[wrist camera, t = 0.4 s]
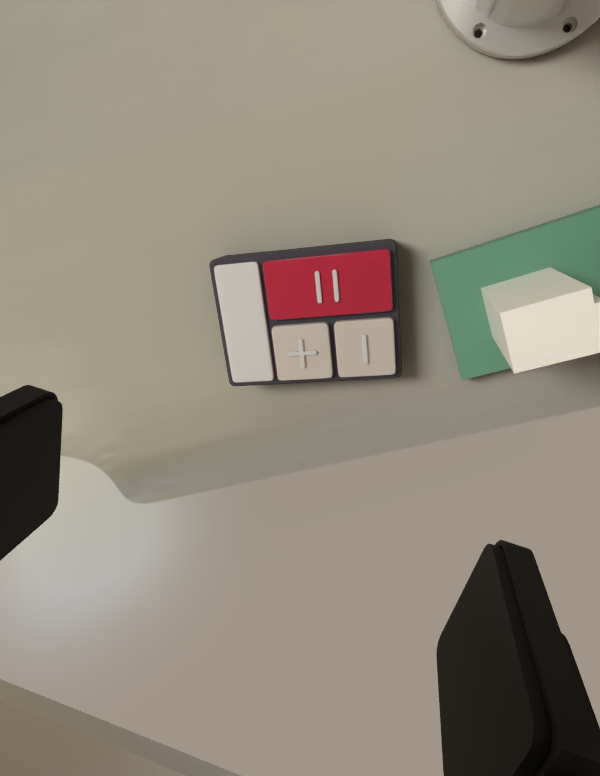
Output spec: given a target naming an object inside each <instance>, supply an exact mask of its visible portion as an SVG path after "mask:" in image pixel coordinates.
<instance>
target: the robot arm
mask: <svg viewBox="0 0 600 776" xmlns="http://www.w3.org/2000/svg"><path fill="white" fill-rule="evenodd" d="M436 1H437V4H438V8H439V10H440V12H441V14H442V16H443V17H444V19H445V21H446V23H447V25H448V26H449V27H450V29H451V30H452V31H453V32H454V33H455V34H456V36H457V37H458V38H459V39H460V40H461V41H463V42H464V43H466V44H467V45H468V46H470V47H471V48H472V49H474V50H476V51H478V52H481V53H483V54H486V55H488V56H490V57H496V58H502V59H526V58H531V57H534V56H538V55H542V54H546V53H548V52H550V51H553V50H555V49H557V48H559V47H561V46H563V45H566V44H567V43H569V42H570V41H571V40H573V39H574V38H576V37H577V36H579V35H580V34H582V33H583V32H585V31H586V30H587V29H588V28H589V27H590V26H591V25H592V24H593V23H595V22H596V21H597V20H598V19H599V18H600V0H436ZM565 25H568V26H569V27H570V31H569V32H568V33H565V32H564V31H563V26H565ZM476 31H481V33H482V36H481V37H480V38H476V37H475V36H474V33H475V32H476ZM61 431H62V404H61V403H60V402H58V399H57V396H56V395H55V394H54V393H52V392H49V391H46V390H43V389H40V388H37V387H34V386H30V385H26V386H23V387H21V388H19V389H16V390H14V391H12V392H10V393H8V394H6V395H4V396H2V397H0V560H1V559H2V558H4V557H5V556H6V555H7V554H8V553H9V552H10V551H12V550H13V549H14V548H15V547H16V546H17V545H18V544H20V543H21V542H22V541H23V540H24V539H25V538H26V537H28V536H29V535H30V534H31V533H32V532H33V531H34V530H36V529H37V528H38V527H39V526H40V525H41V524H43V523H44V522H45V521H46V520H47V519H48V518H49V517H50V516H51V515H52V514H53V512H54V511H55V509H56V507H57V504H58V493H59V473H60V452H61ZM437 669H438V686H439V702H440V718H441V736H442V753H443V770H444V776H600V728H599V725H598V723H597V720H596V717H595V714H594V711H593V709H592V706H591V703H590V700H589V698H588V695H587V692H586V689H585V687H584V684H583V681H582V678H581V675H580V673H579V670H578V667H577V664H576V662H575V659H574V656H573V654H572V651H571V648H570V645H569V643H568V641H567V639H566V637H565V636H564V635H563V634H562V633H561V631H560V628H559V626H558V623H557V620H556V617H555V615H554V611H553V609H552V606H551V603H550V600H549V597H548V595H547V591H546V589H545V586H544V583H543V580H542V577H541V574H540V572H539V569H538V566H537V563H536V560H535V558H534V555H533V553H532V551H531V550H530V549H528V548H525V547H522V546H518V545H515V544H512V543H509V542H506V541H503V540H500V541H498V542H497V543H496V545H492V544H488V545H486V547H485V548H484V550H483V552H482V554H481V556H480V558H479V560H478V562H477V564H476V566H475V568H474V570H473V572H472V574H471V576H470V578H469V580H468V582H467V584H466V586H465V588H464V590H463V592H462V594H461V596H460V598H459V600H458V602H457V604H456V606H455V608H454V610H453V612H452V614H451V616H450V618H449V620H448V622H447V624H446V626H445V628H444V630H443V632H442V634H441V636H440V638H439V642H438V647H437ZM0 776H240V775H238V774H235V773H233V772H230V771H228V770H225V769H223V768H220V767H218V766H215V765H213V764H210V763H208V762H206V761H203V760H201V759H198V758H196V757H193V756H191V755H188V754H186V753H183V752H181V751H178V750H176V749H173V748H171V747H169V746H166V745H164V744H161V743H159V742H156V741H154V740H151V739H149V738H146V737H143V736H141V735H139V734H136V733H134V732H131V731H128V730H126V729H124V728H121V727H118V726H116V725H114V724H111V723H109V722H106V721H104V720H101V719H99V718H96V717H93V716H91V715H89V714H86V713H84V712H81V711H79V710H76V709H73V708H71V707H68V706H66V705H64V704H61V703H59V702H56V701H53V700H51V699H49V698H46V697H44V696H41V695H38V694H36V693H34V692H31V691H29V690H26V689H24V688H21V687H18V686H16V685H13V684H11V683H8V682H6V681H3V680H1V679H0Z"/></svg>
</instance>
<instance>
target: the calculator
mask: <svg viewBox="0 0 600 776" xmlns="http://www.w3.org/2000/svg"><path fill="white" fill-rule="evenodd" d="M210 272H211V277H212V283H213V289H214V295H215V301H216V307H217V313H218V318H219V324H220V330H221V336H222V342H223V348H224V354H225V359H226V365H227V371H228V377H229V382H230V384H231V385H233V386H247V385H266V384H286V383H305V382H324V381H343V380H362V379H381V378H397V377H400V376H401V374H402V362H401V339H400V315H399V292H398V268H397V247H396V243H395V241H394V240H392V239H384V240H375V241H365V242H355V243H345V244H336V245H326V246H317V247H307V248H298V249H288V250H279V251H267V252H256V253H246V254H237V255H227V256H223V257H220V258H217V259H214V260H212V261H211V262H210Z"/></svg>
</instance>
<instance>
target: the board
mask: <svg viewBox="0 0 600 776" xmlns="http://www.w3.org/2000/svg"><path fill="white" fill-rule="evenodd" d="M430 262H431V266H432V269H433V273H434V277H435V280H436V284H437V288H438V292H439V295H440V299H441V303H442V307H443V310H444V314H445V318H446V321H447V325H448V329H449V333H450V336H451V340H452V344H453V348H454V351H455V355H456V359H457V362H458V366H459V370H460V374H461V377H462V380H465V379H469V378H473V377H477V376H481V375H485V374H489V373H493V372H497V371H501V370H506V369H510V368H511V367H510V366H509V364H508V362H507V361H506V359H505V357H504V356H503V354H502V352H501V350H500V349H499V347H498V345H497V344H496V342H495V340H494V339H493V337H492V333H491V329H490V325H489V321H488V317H487V313H486V309H485V305H484V301H483V296H482V292H481V288H483V287H486V286H489V285H493V284H496V283H499V282H503V281H506V280H509V279H513V278H516V277H519V276H523V275H526V274H529V273H533V272H536V271H539V270H543V269H546V268H549V267H551V268H553V269H555V270H557V271H559V272H561V273H563V274H565V275H567V276H569V277H572V278H574V279H576V280H578V281H580V282H582V283H584V284H586V285H588V286H590V287H592V293H593V294H594V295H596V296H598V297H600V205H599V206H596V207H593V208H590V209H587V210H583V211H580V212H577V213H574V214H571V215H568V216H565V217H562V218H559V219H556V220H553V221H550V222H547V223H544V224H541V225H538V226H535V227H532V228H529V229H525V230H522V231H519V232H516V233H513V234H510V235H507V236H504V237H501V238H498V239H495V240H492V241H489V242H486V243H483V244H480V245H477V246H474V247H471V248H468V249H464V250H461V251H458V252H455V253H452V254H449V255H446V256H443V257H440V258H437V259H434V260H431V261H430Z"/></svg>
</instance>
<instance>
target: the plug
mask: <svg viewBox="0 0 600 776" xmlns="http://www.w3.org/2000/svg"><path fill="white" fill-rule="evenodd" d="M481 292H482V296H483V301H484V305H485V309H486V313H487V317H488V321H489V325H490V329H491V333H492V337H493V339H494V340H495V342H496V344H497V345H498V347H499V349H500V350H501V352H502V354H503V356H504V357H505V359H506V361H507V362H508V364H509V366H510V367H511V369H512V371H513V372H514V373H519V372H523V371H527V370H531V369H535V368H539V367H543V366H547V365H551V364H555V363H560V362H564V361H568V360H572V359H576V358H580V357H584V356H588V355H592V354H596V353H600V297H598V296H596V295H594V294H593V293H592V287H590V286H588V285H586V284H584V283H582V282H580V281H578V280H576V279H574V278H572V277H569V276H567V275H565V274H563V273H561V272H559V271H557V270H555V269H553V268H551V267H549V268H546V269H543V270H539V271H536V272H533V273H529V274H526V275H523V276H519V277H516V278H513V279H509V280H506V281H503V282H499V283H496V284H493V285H489V286H486V287H483V288H481Z"/></svg>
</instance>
